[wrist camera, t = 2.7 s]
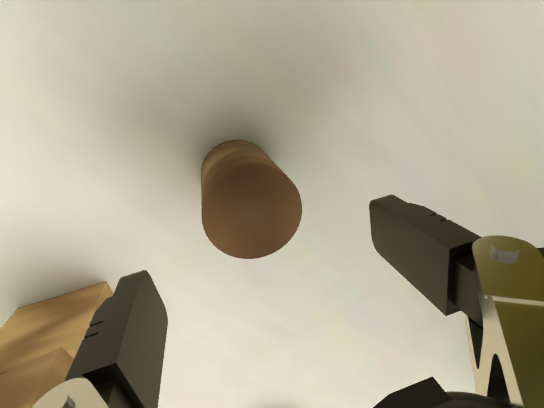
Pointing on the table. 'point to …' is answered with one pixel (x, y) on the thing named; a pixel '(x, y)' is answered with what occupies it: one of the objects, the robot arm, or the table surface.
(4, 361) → the tower base
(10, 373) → the tower mid
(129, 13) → the table surface
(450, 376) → the table surface
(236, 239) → the walnut cylinder
